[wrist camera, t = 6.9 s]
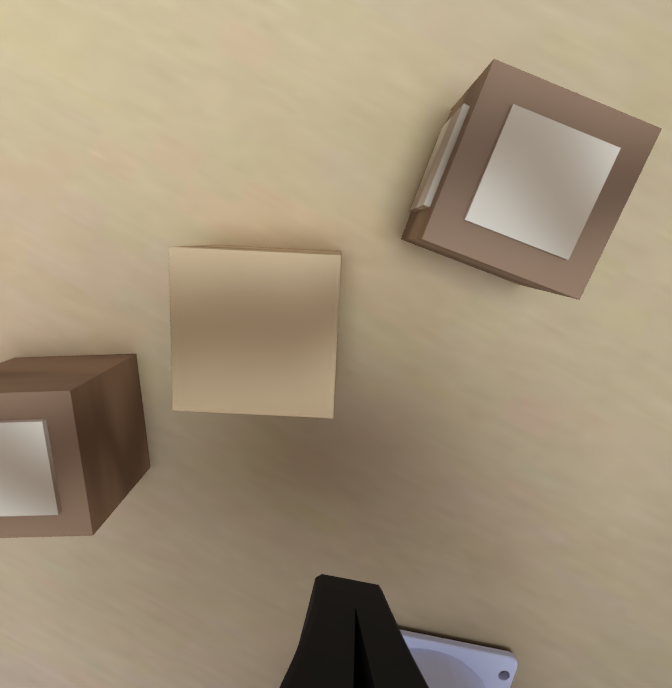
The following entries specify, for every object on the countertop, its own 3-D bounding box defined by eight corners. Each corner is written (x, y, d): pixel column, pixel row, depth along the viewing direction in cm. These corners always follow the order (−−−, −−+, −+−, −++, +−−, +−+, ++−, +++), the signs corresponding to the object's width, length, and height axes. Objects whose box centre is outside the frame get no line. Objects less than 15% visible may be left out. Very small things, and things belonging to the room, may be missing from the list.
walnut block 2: (518, 284, 19) (582, 300, 14) (396, 237, 19) (416, 236, 14) (575, 158, 18) (666, 126, 13) (446, 106, 18) (489, 53, 13)
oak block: (334, 374, 20) (333, 418, 15) (213, 368, 20) (172, 410, 15) (340, 251, 19) (340, 255, 14) (213, 245, 19) (168, 246, 14)
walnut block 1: (151, 466, 21) (89, 539, 16) (31, 469, 21) (-67, 543, 16) (137, 353, 20) (66, 392, 15) (11, 357, 20) (-102, 397, 15)
